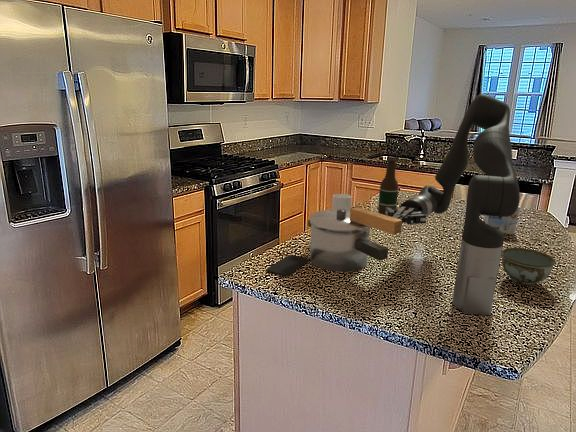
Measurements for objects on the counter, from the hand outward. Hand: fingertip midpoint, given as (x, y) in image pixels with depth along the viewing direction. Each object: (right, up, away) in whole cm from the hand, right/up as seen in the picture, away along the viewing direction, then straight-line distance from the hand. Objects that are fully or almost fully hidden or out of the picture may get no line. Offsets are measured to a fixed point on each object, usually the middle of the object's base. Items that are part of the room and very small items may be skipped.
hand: (393, 221), depth 118 cm
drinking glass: (-10, -6, +40) cm, 42 cm away
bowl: (+39, -17, +5) cm, 43 cm away
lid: (-9, -2, +9) cm, 13 cm away
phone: (-29, -14, +12) cm, 34 cm away
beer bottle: (+14, +3, +70) cm, 71 cm away
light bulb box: (+54, -4, +51) cm, 74 cm away
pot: (-12, -13, +15) cm, 23 cm away
